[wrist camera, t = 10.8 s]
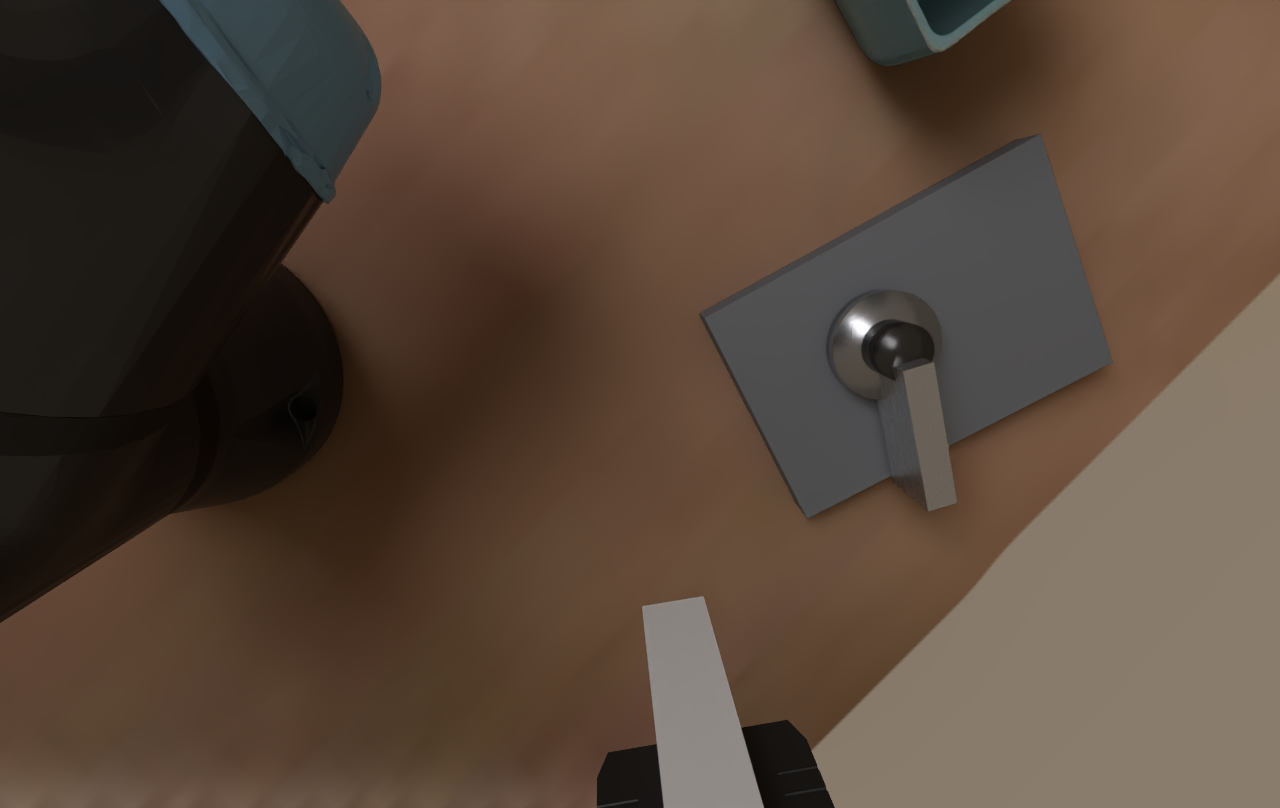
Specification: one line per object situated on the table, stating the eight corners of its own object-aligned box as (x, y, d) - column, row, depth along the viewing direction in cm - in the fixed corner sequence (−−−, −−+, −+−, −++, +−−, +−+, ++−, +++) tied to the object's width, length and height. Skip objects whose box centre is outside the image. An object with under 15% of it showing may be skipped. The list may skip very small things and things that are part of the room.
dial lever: (815, 307, 33) (846, 317, 29) (921, 275, 33) (967, 280, 29) (855, 491, 36) (888, 523, 32) (951, 462, 36) (997, 490, 32)
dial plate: (698, 313, 35) (705, 318, 33) (1015, 139, 33) (1043, 133, 31) (796, 504, 39) (808, 520, 36) (1086, 355, 37) (1115, 362, 35)
